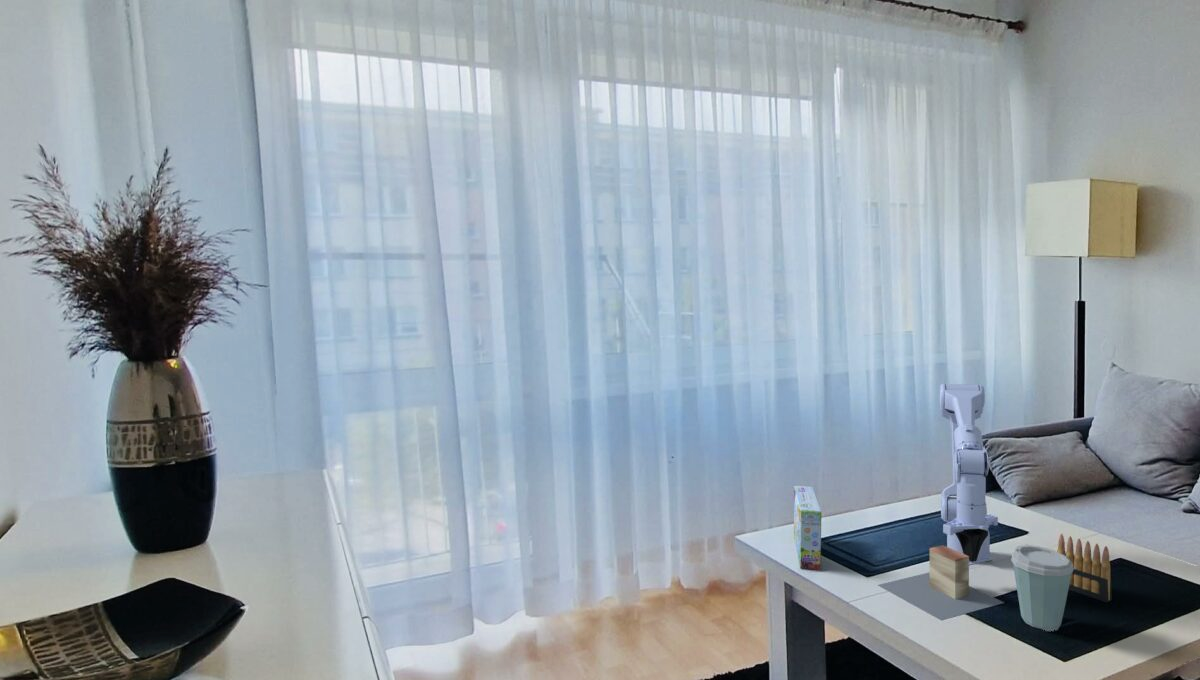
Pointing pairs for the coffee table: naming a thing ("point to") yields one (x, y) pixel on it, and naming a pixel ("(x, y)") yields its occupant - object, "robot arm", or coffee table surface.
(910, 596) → the rubber mat
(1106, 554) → the ammunition clip
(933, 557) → the beech block
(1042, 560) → the disposable coffee cup
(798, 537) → the snack box
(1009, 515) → the coffee table surface
